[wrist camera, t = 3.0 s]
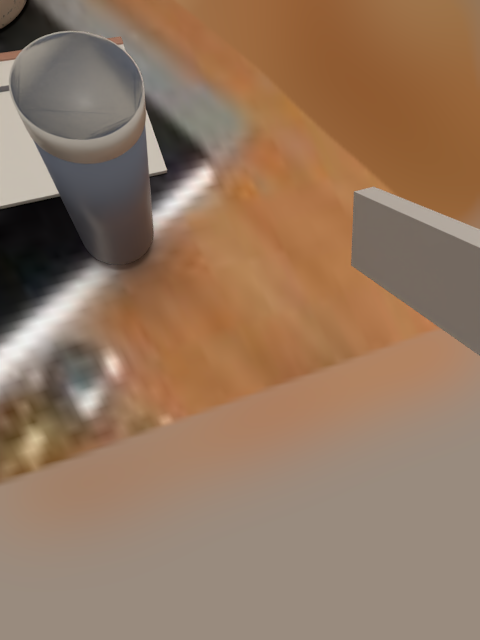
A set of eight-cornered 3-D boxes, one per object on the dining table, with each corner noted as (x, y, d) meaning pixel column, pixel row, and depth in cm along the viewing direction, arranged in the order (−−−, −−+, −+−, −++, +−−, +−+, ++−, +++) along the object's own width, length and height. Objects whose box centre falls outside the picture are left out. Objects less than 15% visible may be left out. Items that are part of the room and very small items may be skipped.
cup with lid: (94, 279, 24) (26, 152, 13) (75, 216, 25) (-6, 40, 13) (163, 261, 25) (160, 127, 14) (143, 200, 26) (123, 23, 14)
